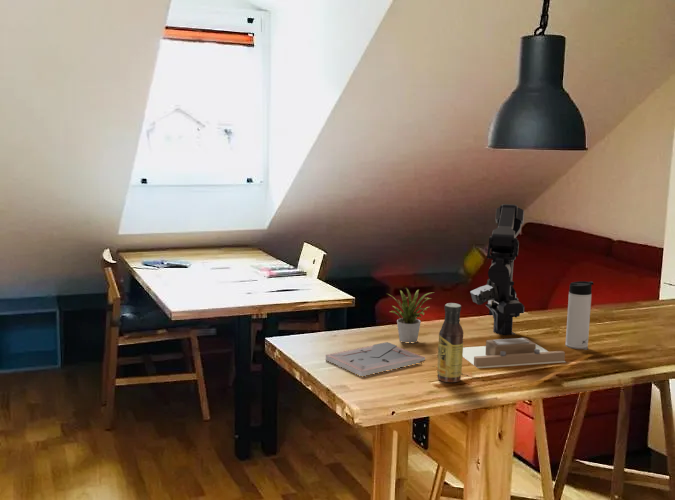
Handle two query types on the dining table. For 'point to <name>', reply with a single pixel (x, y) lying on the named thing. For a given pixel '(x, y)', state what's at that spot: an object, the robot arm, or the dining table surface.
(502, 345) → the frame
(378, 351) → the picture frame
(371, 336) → the dining table surface
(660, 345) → the dining table surface
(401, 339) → the house plant
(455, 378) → the sauce bottle
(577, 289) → the travel mug
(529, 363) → the wall board
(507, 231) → the robot arm
